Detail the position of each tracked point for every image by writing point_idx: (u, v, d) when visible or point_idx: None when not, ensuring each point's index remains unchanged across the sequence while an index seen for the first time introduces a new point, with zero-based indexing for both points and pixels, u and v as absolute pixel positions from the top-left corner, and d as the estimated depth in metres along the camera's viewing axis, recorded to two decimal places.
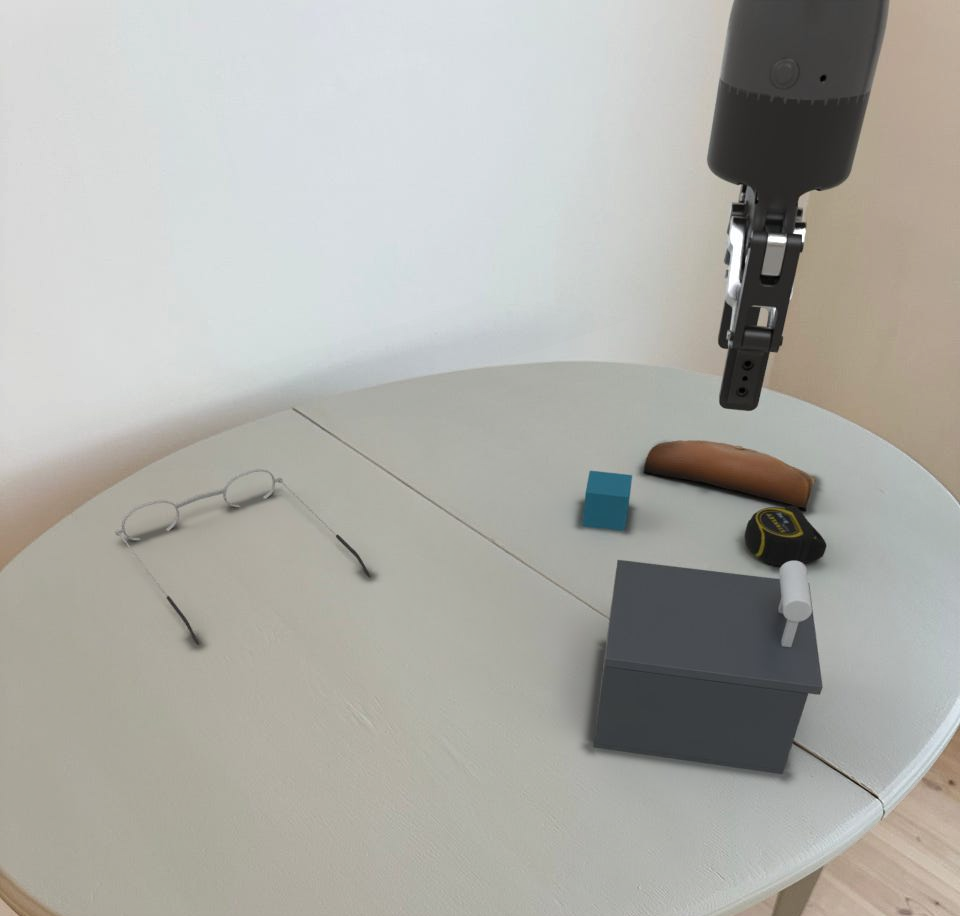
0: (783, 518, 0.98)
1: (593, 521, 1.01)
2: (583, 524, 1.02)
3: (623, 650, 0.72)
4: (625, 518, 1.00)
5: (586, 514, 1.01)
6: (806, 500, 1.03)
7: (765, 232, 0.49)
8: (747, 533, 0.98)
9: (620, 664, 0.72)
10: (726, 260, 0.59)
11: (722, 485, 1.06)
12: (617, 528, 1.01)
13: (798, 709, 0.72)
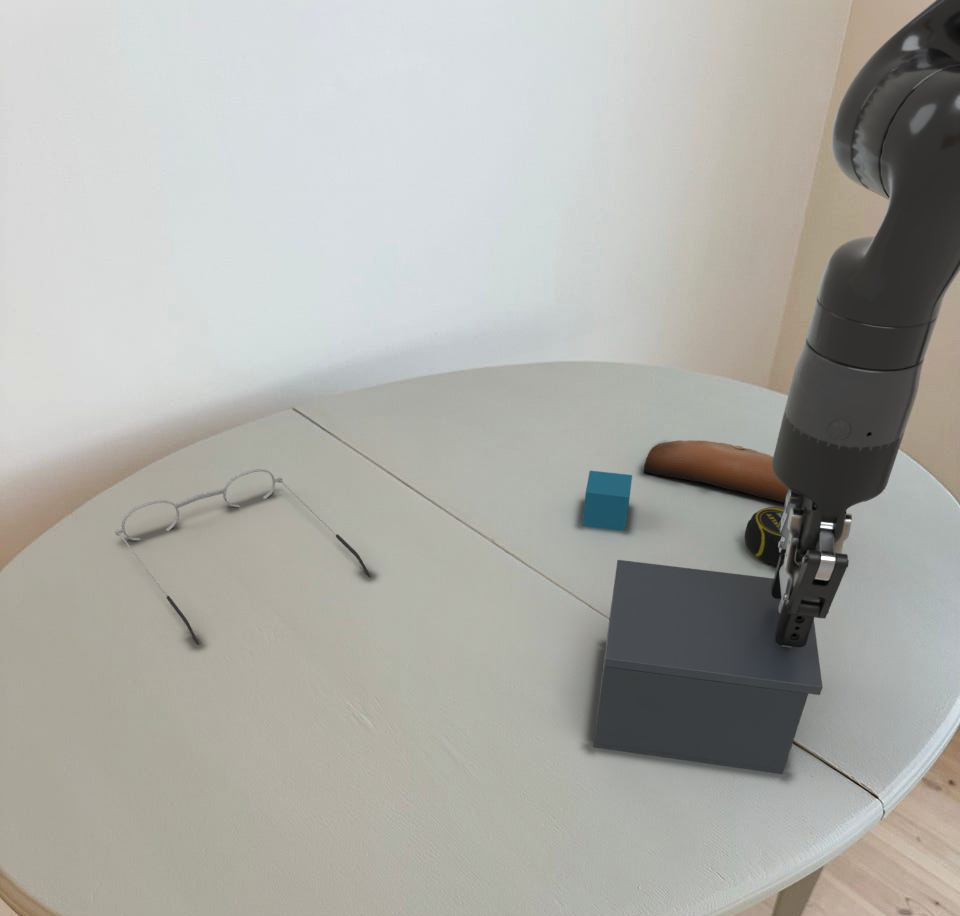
0: None
1: (593, 521, 1.01)
2: (583, 524, 1.02)
3: (623, 650, 0.72)
4: (625, 518, 1.00)
5: (586, 514, 1.01)
6: None
7: (818, 555, 0.63)
8: (747, 533, 0.98)
9: (620, 664, 0.72)
10: (782, 533, 0.72)
11: (722, 485, 1.06)
12: (617, 528, 1.01)
13: (798, 709, 0.72)
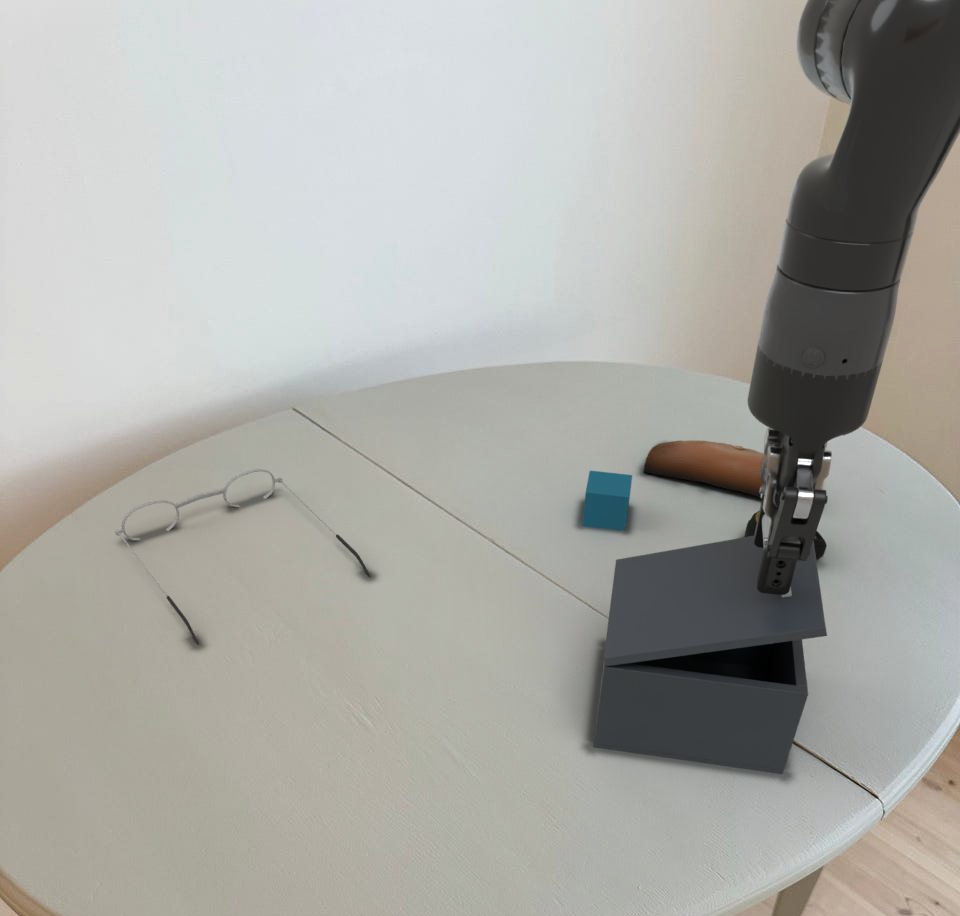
0: None
1: (593, 521, 1.01)
2: (583, 524, 1.02)
3: (620, 646, 0.72)
4: (625, 518, 1.00)
5: (586, 514, 1.01)
6: None
7: (796, 491, 0.60)
8: (747, 533, 0.98)
9: (620, 660, 0.72)
10: (762, 476, 0.69)
11: (721, 485, 1.06)
12: (617, 528, 1.01)
13: (798, 709, 0.72)
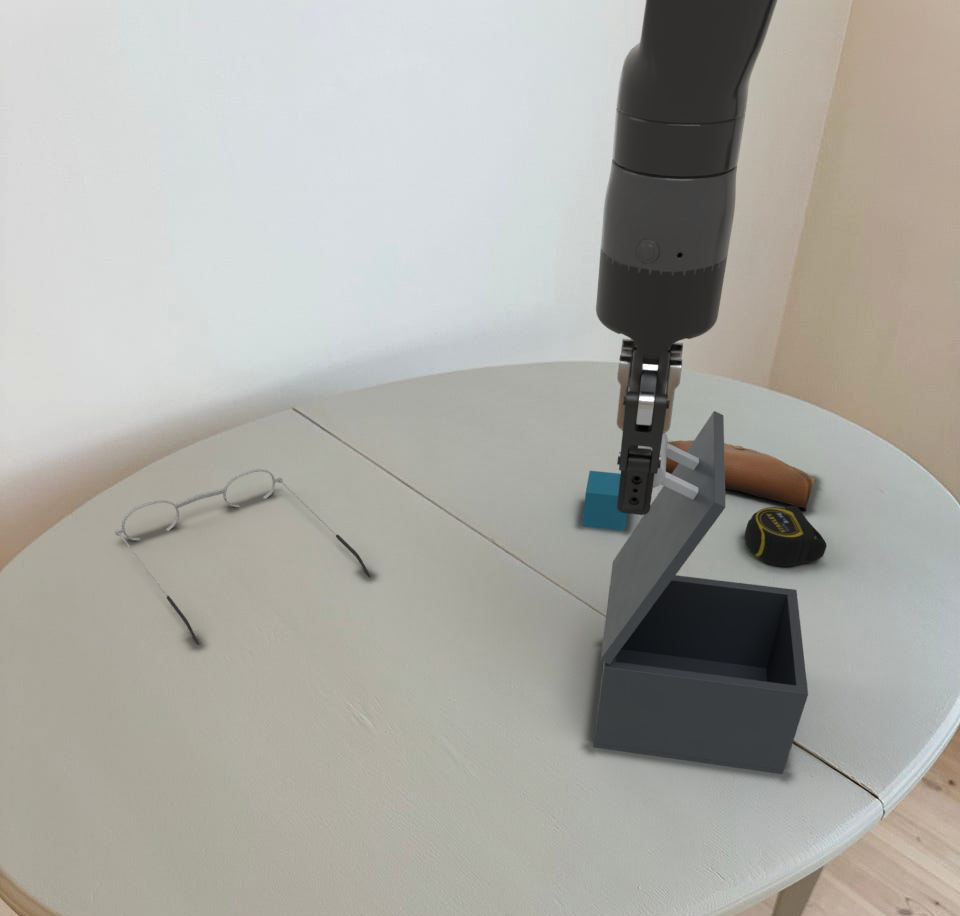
0: (783, 518, 0.98)
1: (593, 521, 1.01)
2: (583, 524, 1.02)
3: (608, 639, 0.72)
4: (625, 518, 1.00)
5: (586, 514, 1.01)
6: (806, 500, 1.03)
7: (637, 395, 0.58)
8: (747, 533, 0.98)
9: (612, 652, 0.71)
10: None
11: None
12: (617, 528, 1.01)
13: (798, 709, 0.72)
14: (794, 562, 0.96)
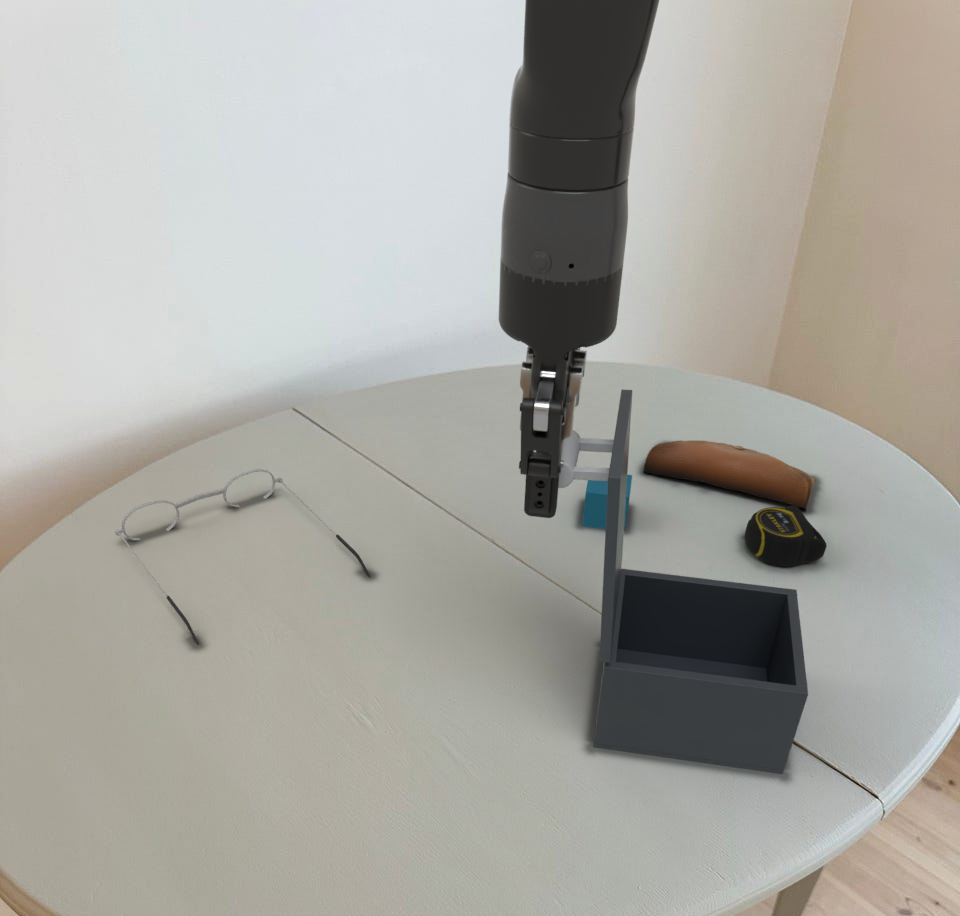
0: (783, 518, 0.98)
1: (593, 521, 1.01)
2: (583, 524, 1.02)
3: None
4: (625, 518, 1.00)
5: (586, 514, 1.01)
6: (806, 500, 1.03)
7: (532, 401, 0.60)
8: (747, 533, 0.98)
9: (605, 650, 0.71)
10: None
11: (721, 485, 1.06)
12: None
13: (798, 709, 0.72)
14: (794, 562, 0.96)
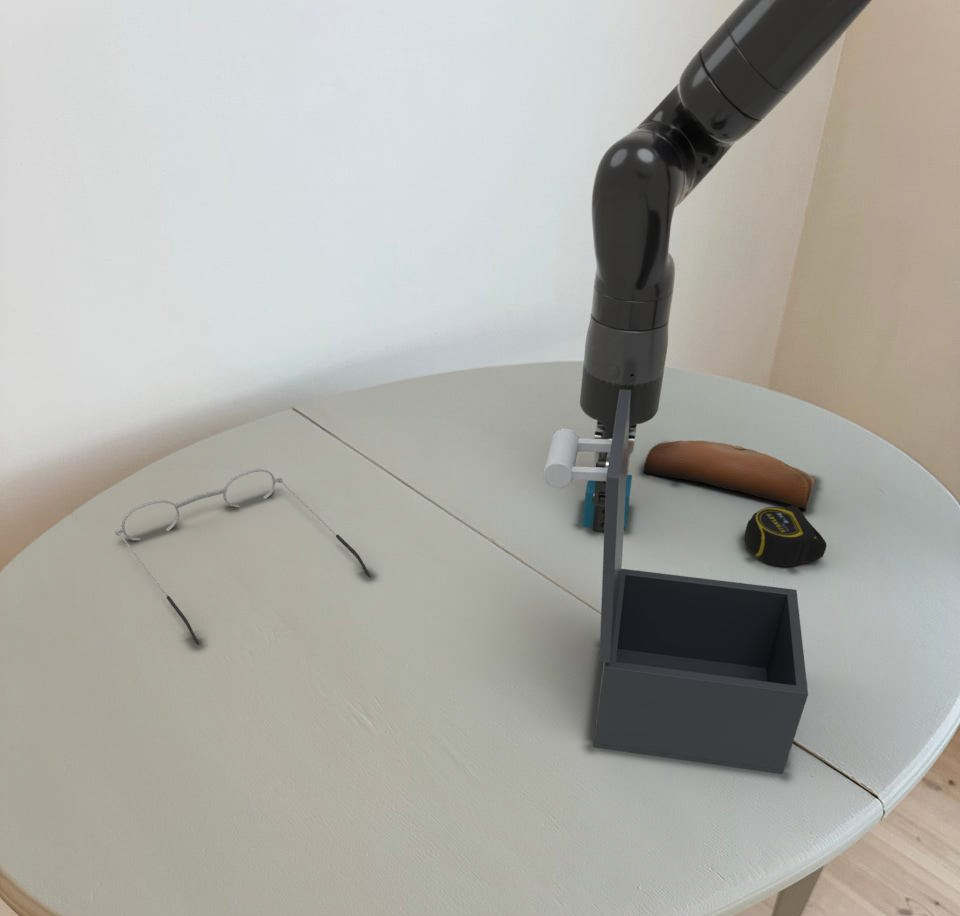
0: (783, 518, 0.98)
1: None
2: (583, 524, 1.02)
3: None
4: (625, 518, 1.00)
5: (586, 514, 1.01)
6: (806, 500, 1.03)
7: (604, 461, 0.92)
8: (747, 533, 0.98)
9: (605, 650, 0.71)
10: None
11: (721, 486, 1.06)
12: None
13: (798, 709, 0.72)
14: (794, 562, 0.96)
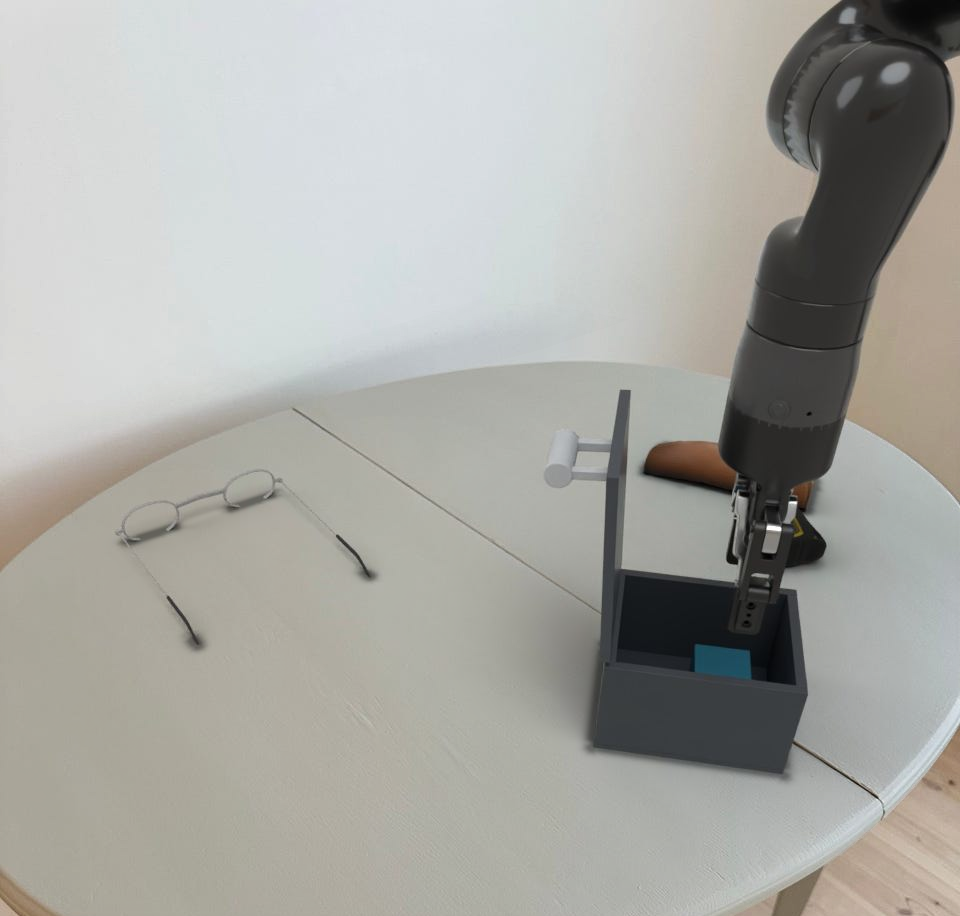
0: None
1: None
2: None
3: None
4: None
5: None
6: (806, 500, 1.03)
7: (764, 522, 0.62)
8: None
9: (605, 650, 0.71)
10: (733, 505, 0.72)
11: (721, 486, 1.06)
12: None
13: (798, 709, 0.72)
14: (794, 562, 0.96)
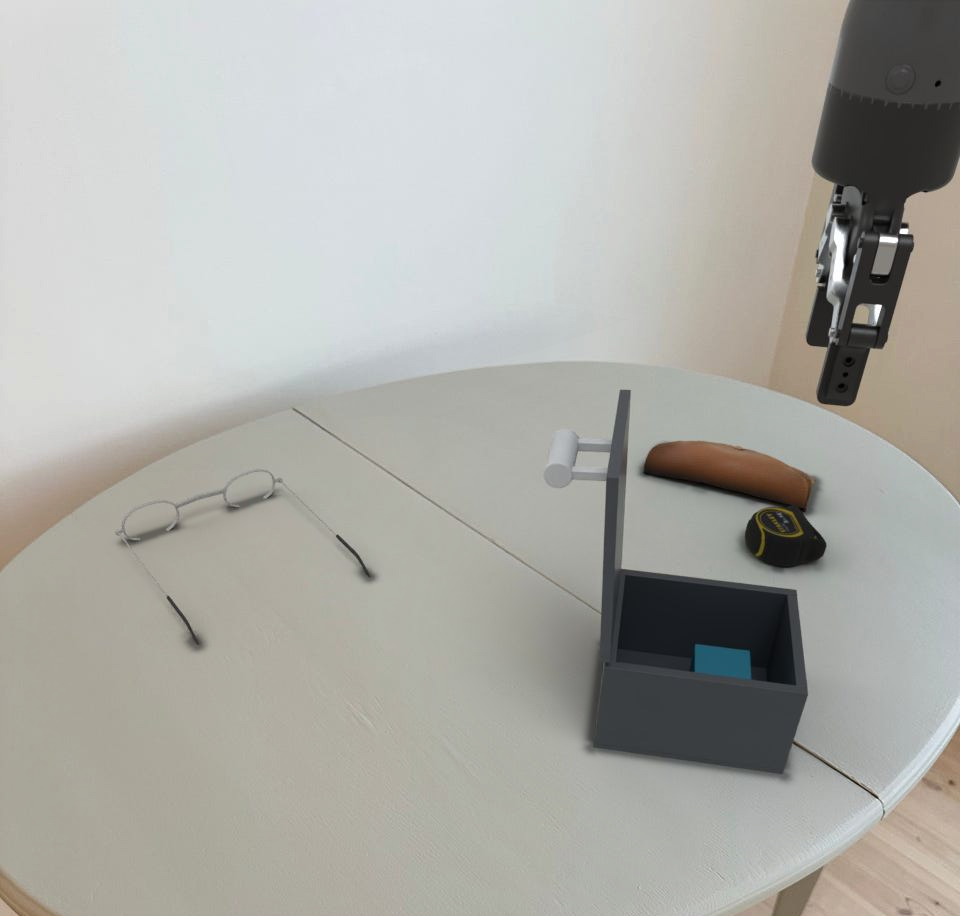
0: (783, 517, 0.98)
1: None
2: None
3: None
4: None
5: None
6: (806, 500, 1.03)
7: (876, 232, 0.51)
8: (747, 533, 0.98)
9: (605, 650, 0.71)
10: (820, 260, 0.61)
11: (721, 486, 1.06)
12: None
13: (798, 709, 0.72)
14: (794, 562, 0.96)
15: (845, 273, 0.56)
